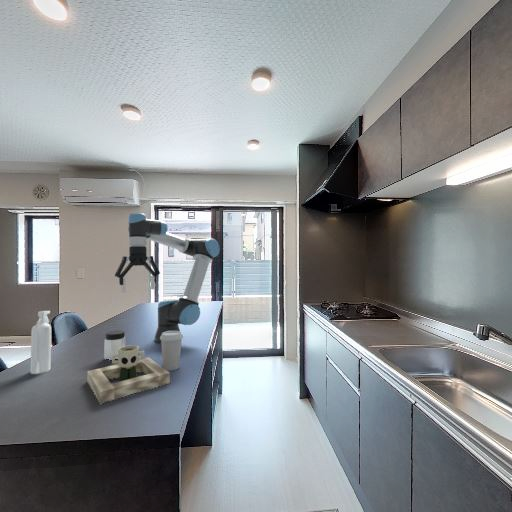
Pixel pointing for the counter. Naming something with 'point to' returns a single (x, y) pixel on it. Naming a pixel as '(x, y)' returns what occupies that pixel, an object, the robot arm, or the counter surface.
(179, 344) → the coffee cup
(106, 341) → the jar
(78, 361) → the counter surface
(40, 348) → the white pump bottle
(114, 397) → the well block
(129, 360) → the character mug
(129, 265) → the robot arm
